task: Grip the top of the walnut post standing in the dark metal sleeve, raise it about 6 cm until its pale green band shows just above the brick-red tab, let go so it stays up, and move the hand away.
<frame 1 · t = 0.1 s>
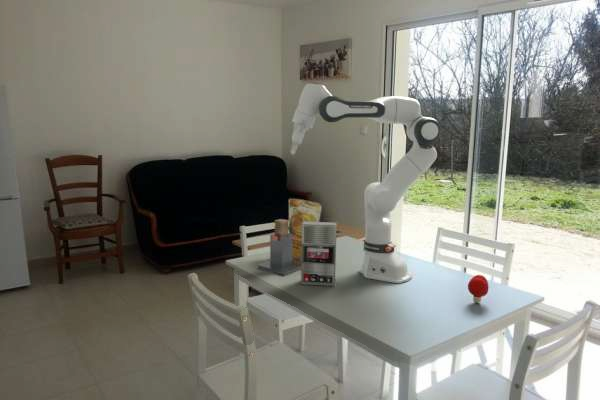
hand: (292, 153, 192), 52 cm above the table, tool tilted 20°, fingers open, 8 cm apart
post: (281, 242, 205), point 12 cm above the table, slide at 0.0 cm
stand: (281, 267, 207), on the table
light bulb: (476, 303, 171), on the table
pancake mix bag: (302, 258, 222), on the table
cassette tape recorder: (318, 283, 189), on the table
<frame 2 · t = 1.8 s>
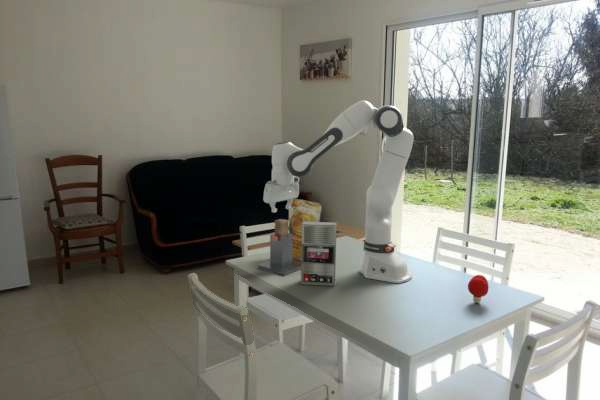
hand: (281, 210, 202), 26 cm above the table, tool pointing down, fingers open, 8 cm apart
nothing on the table moved.
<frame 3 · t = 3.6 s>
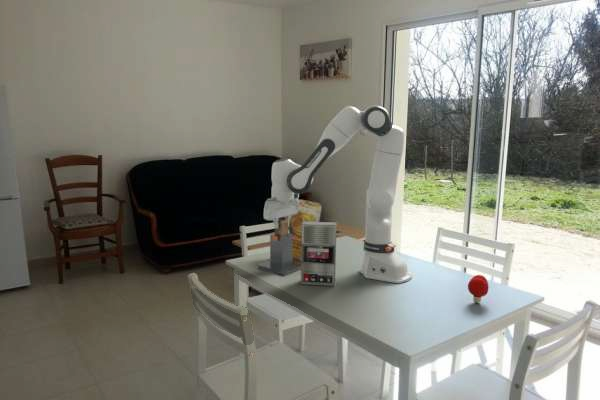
hand: (281, 226, 204), 19 cm above the table, tool pointing down, fingers closed on post, 4 cm apart
post: (281, 242, 205), point 12 cm above the table, slide at 0.0 cm, touching gripper
everything else where it was.
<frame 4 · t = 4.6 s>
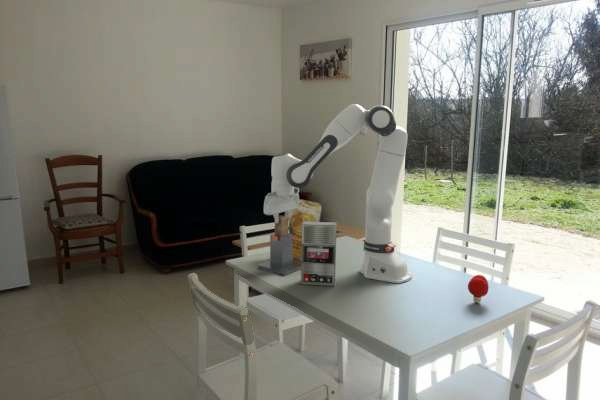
hand: (281, 221, 203), 21 cm above the table, tool pointing down, fingers closed on post, 4 cm apart
post: (281, 238, 205), point 13 cm above the table, slide at 1.6 cm, touching gripper
everything else where it was.
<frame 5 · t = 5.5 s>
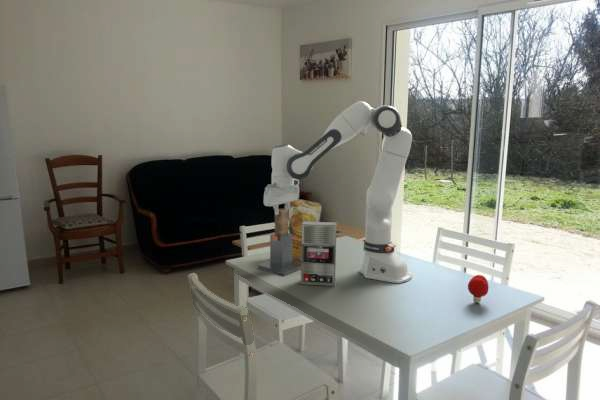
hand: (281, 213, 203), 25 cm above the table, tool pointing down, fingers closed on post, 4 cm apart
post: (281, 232, 204), point 17 cm above the table, slide at 4.7 cm, touching gripper
everything else where it was.
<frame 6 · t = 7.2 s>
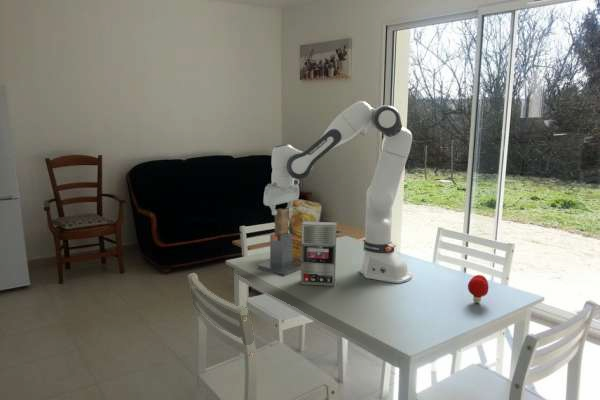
hand: (281, 213, 203), 25 cm above the table, tool pointing down, fingers open, 8 cm apart
post: (281, 231, 204), point 17 cm above the table, slide at 4.8 cm
everything else where it was.
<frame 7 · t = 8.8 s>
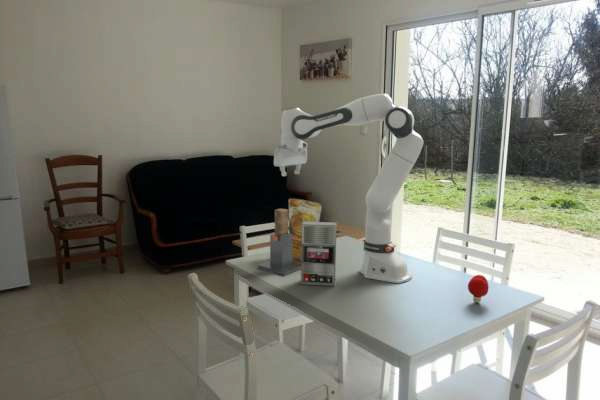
hand: (290, 175, 210), 41 cm above the table, tool pointing down, fingers open, 8 cm apart
nothing on the table moved.
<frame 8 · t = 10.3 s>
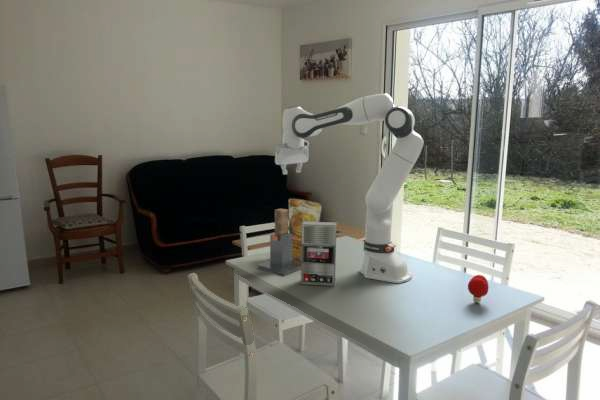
hand: (291, 173, 211), 41 cm above the table, tool pointing down, fingers open, 8 cm apart
nothing on the table moved.
at the end: post slide at 4.8 cm; the gripper is holding nothing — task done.
